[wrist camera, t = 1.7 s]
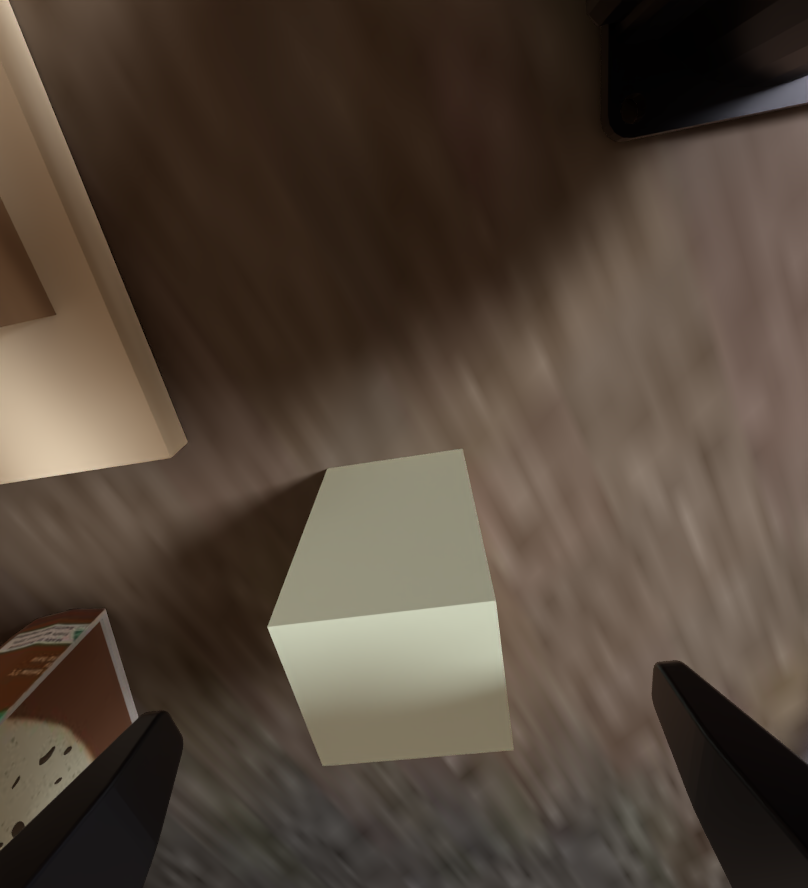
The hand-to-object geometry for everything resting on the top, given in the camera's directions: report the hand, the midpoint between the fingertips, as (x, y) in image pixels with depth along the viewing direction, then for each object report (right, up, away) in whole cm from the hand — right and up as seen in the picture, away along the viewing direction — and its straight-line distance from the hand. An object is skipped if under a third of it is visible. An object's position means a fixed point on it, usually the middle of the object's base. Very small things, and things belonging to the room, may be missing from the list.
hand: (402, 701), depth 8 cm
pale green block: (0, +3, +6) cm, 6 cm away
